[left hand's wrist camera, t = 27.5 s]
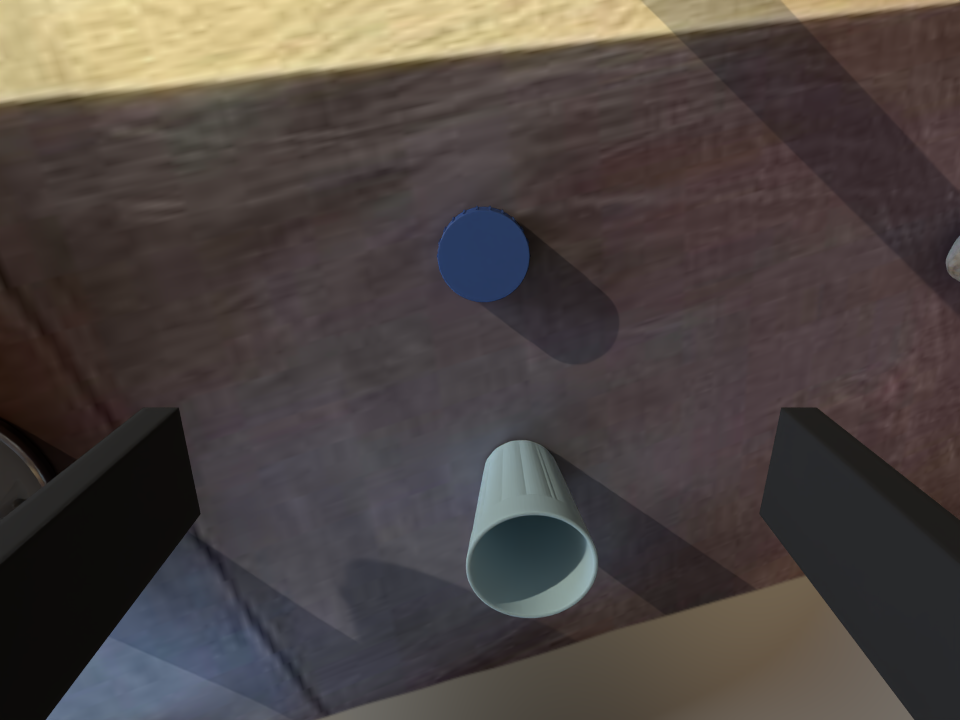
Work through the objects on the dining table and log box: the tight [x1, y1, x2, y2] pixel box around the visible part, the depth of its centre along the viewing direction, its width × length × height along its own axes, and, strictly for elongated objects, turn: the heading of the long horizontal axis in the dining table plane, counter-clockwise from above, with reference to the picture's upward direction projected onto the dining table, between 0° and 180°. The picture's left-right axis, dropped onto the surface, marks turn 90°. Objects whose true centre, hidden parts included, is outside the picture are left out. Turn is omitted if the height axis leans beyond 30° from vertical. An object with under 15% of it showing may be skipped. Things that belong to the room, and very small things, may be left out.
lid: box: [437, 206, 530, 302], centre depth 36 cm, size 6×6×2 cm
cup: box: [466, 440, 598, 618], centre depth 38 cm, size 8×8×10 cm
